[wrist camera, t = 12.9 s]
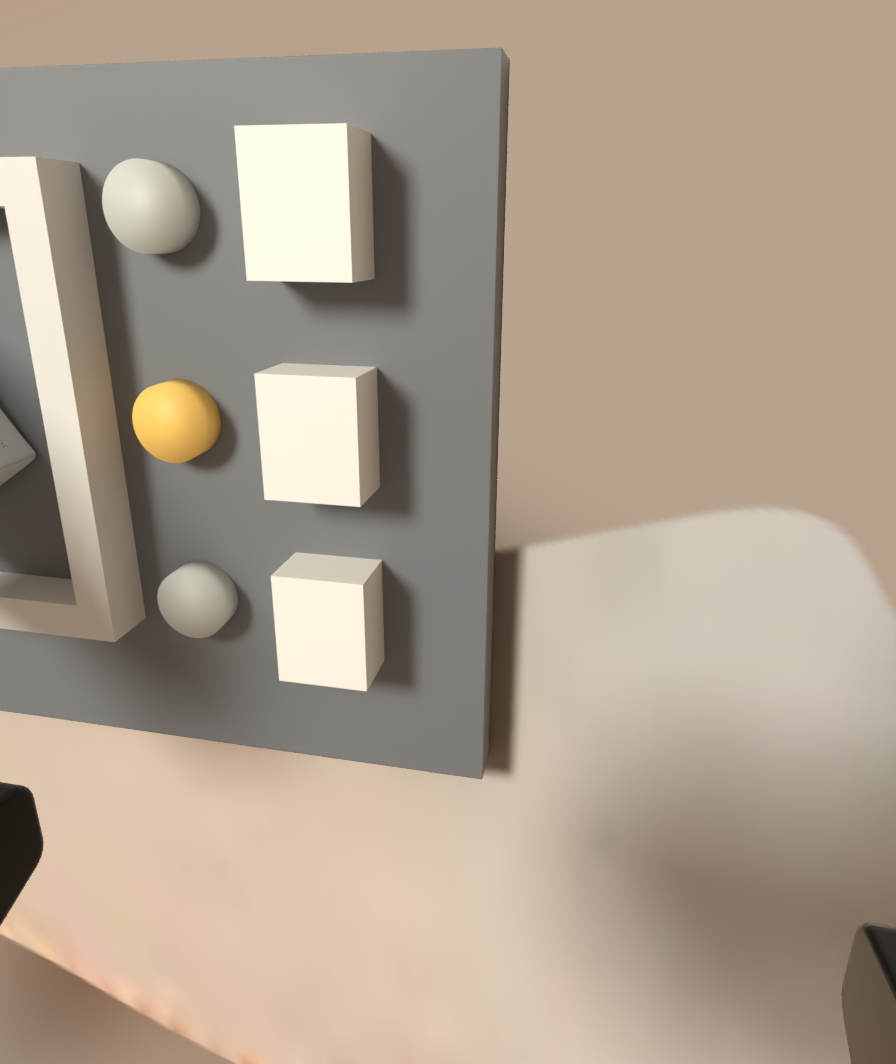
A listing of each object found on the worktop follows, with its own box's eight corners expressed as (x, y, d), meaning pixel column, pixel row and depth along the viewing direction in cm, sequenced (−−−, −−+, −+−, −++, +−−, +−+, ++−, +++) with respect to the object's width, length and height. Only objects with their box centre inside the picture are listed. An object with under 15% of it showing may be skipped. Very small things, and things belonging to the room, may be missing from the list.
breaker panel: (509, 60, 17) (488, 28, 14) (488, 753, 23) (472, 817, 21) (-355, 92, 21) (-488, 72, 19) (-174, 663, 28) (-255, 706, 25)
